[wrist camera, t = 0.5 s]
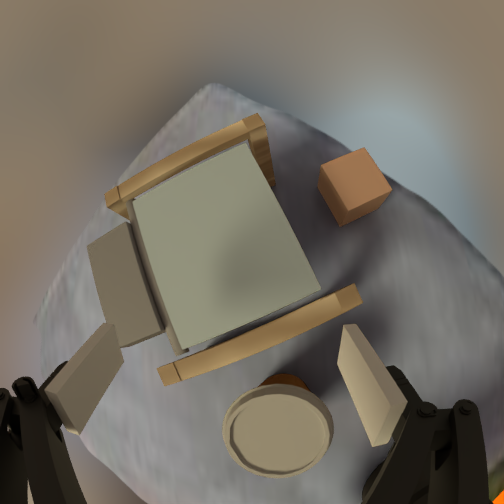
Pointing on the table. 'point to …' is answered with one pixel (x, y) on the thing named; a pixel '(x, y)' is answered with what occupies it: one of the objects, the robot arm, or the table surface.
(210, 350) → the frame
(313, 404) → the disposable coffee cup
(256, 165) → the trapdoor
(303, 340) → the table surface
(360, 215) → the block
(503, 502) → the orange juice
